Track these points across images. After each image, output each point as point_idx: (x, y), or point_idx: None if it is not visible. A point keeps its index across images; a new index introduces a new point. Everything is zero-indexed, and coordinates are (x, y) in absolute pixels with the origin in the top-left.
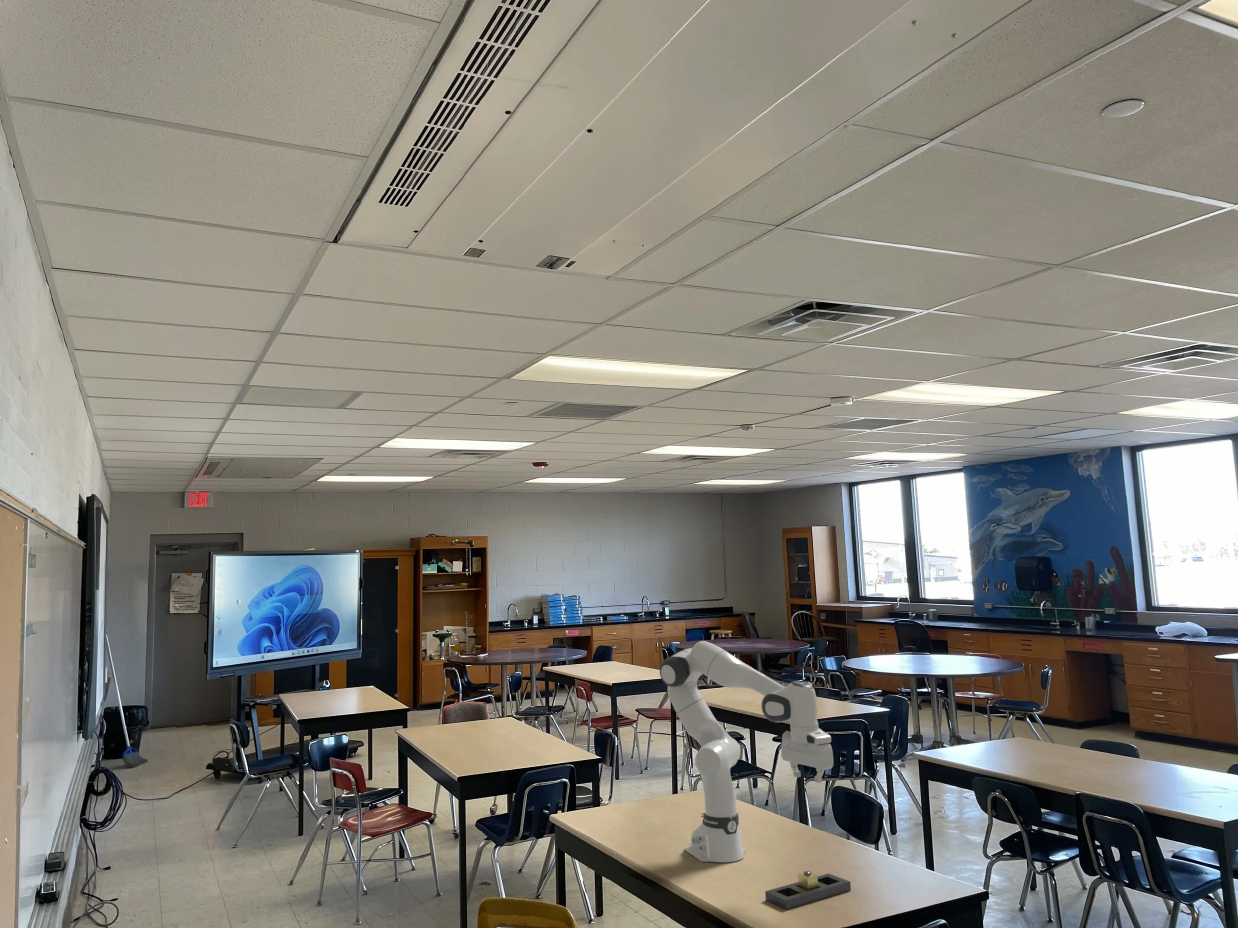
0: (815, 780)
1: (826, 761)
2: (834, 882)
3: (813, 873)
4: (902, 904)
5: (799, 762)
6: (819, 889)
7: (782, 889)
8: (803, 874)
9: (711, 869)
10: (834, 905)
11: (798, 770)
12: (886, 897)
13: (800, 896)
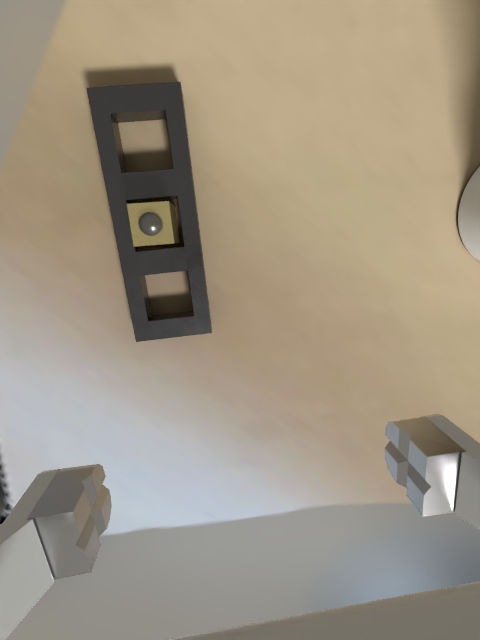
0: (75, 472)
1: None
2: (171, 316)
3: (148, 243)
4: (17, 379)
5: (411, 627)
6: (122, 235)
7: (170, 142)
8: (154, 210)
9: (456, 112)
10: (75, 239)
11: (456, 509)
12: (70, 376)
13: (100, 152)
